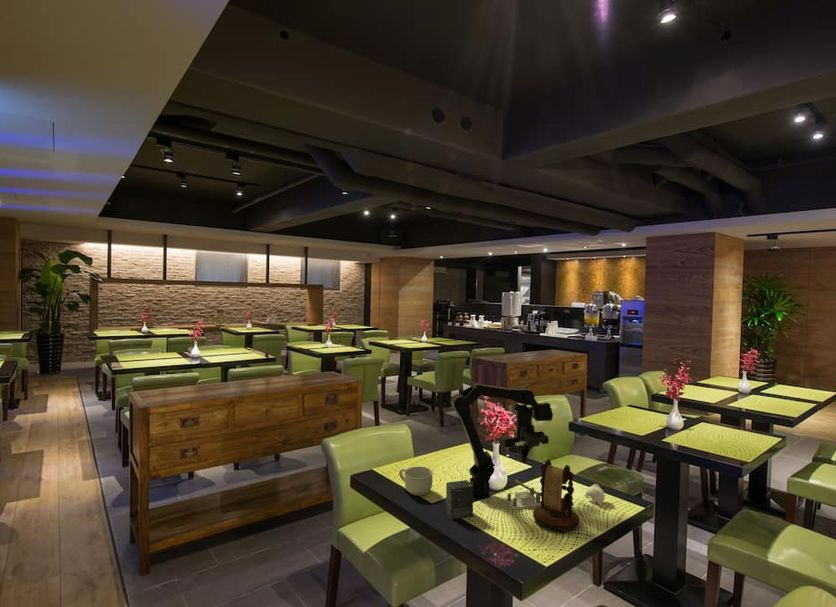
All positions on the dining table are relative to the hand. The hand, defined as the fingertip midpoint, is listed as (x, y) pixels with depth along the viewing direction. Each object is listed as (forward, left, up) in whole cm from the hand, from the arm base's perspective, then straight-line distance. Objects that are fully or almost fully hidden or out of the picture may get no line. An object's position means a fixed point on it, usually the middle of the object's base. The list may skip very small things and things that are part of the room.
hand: (523, 462), depth 171 cm
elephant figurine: (+22, -14, -12) cm, 29 cm away
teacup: (-39, +13, -12) cm, 43 cm away
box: (-30, -9, -12) cm, 34 cm away
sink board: (-4, -8, -12) cm, 15 cm away
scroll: (-1, -23, -12) cm, 26 cm away
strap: (-3, -8, -7) cm, 11 cm away
